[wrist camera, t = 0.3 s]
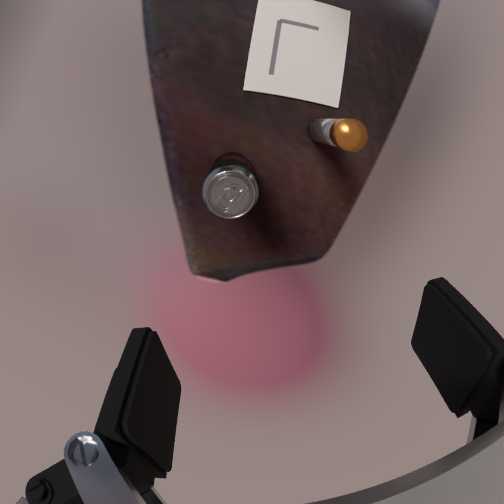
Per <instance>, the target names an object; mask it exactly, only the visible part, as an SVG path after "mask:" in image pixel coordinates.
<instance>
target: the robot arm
mask: <svg viewBox="0 0 504 504" xmlns="http://www.w3.org/2000/svg"><path fill="white" fill-rule="evenodd" d="M411 345H412V348H413V350H414V351H415V353H416V355H417V356H418V358H419V359H420V361H421V362H422V364H423V366H424V367H425V369H426V370H427V372H428V374H429V375H430V377H431V379H432V380H433V382H434V384H435V385H436V387H437V389H438V390H439V392H440V394H441V395H442V397H443V399H444V401H445V402H446V404H447V406H448V408H449V409H450V411H451V412H453V413H455V414H456V416H457V418H459V417H461V416H463V415H464V414H466V413H468V412H469V411H471V413H472V419H471V425H470V430H469V435H468V440H467V443H466V445H465V446H463V447H461V448H459V449H458V450H456V451H454V452H452V453H450V454H448V455H447V456H445V457H443V458H441V459H439V460H437V461H435V462H433V463H431V464H428V465H426V466H424V467H422V468H420V469H418V470H415V471H413V472H411V473H408V474H406V475H403V476H401V477H398V478H396V479H393V480H391V481H388V482H385V483H383V484H379V485H377V486H373V487H370V488H367V489H364V490H361V491H357V492H354V493H350V494H347V495H343V496H339V497H335V498H331V499H327V500H322V501H318V502H312V503H307V504H504V339H503V338H502V337H501V335H500V334H499V333H498V332H497V331H496V330H495V329H494V328H493V326H491V324H490V323H489V322H488V321H487V320H486V319H485V318H484V317H483V316H482V315H481V314H480V313H479V312H478V311H477V309H475V307H473V305H472V304H470V302H469V301H468V300H466V298H465V297H464V296H463V295H461V294H460V293H459V292H458V291H457V290H456V289H455V288H454V287H453V286H452V285H451V284H450V283H449V282H448V281H447V280H446V279H444V278H443V277H440V278H436V279H433V280H430V281H428V283H427V285H426V286H425V287H424V291H423V296H422V300H421V305H420V309H419V313H418V317H417V321H416V325H415V329H414V332H413V336H412V340H411ZM180 395H181V384H180V381H179V379H178V377H177V375H176V373H175V371H174V369H173V366H172V364H171V362H170V360H169V358H168V356H167V354H166V352H165V350H164V347H163V345H162V343H161V340H160V338H159V336H158V334H157V332H156V331H152V330H151V329H150V328H149V327H145V328H134V329H132V331H131V334H130V336H129V338H128V341H127V343H126V346H125V349H124V351H123V354H122V356H121V359H120V362H119V364H118V367H117V368H116V370H115V371H114V374H113V377H112V379H111V382H110V385H109V387H108V390H107V393H106V396H105V399H104V402H103V405H102V408H101V411H100V414H99V417H98V420H97V423H96V426H95V429H94V433H91V432H80V433H77V434H75V435H74V436H72V437H71V438H70V439H69V440H68V442H67V443H66V446H65V448H64V457H65V459H63V460H61V461H60V462H58V463H56V464H54V465H53V466H51V467H49V468H48V469H46V470H44V471H42V472H41V473H39V474H37V475H35V476H33V477H32V478H31V479H30V480H29V482H28V483H27V485H26V498H24V497H21V498H20V499H19V501H18V502H17V503H16V504H167V503H166V502H165V501H164V500H163V498H162V497H161V496H160V495H159V493H158V492H157V491H156V489H155V488H154V487H153V485H154V479H155V478H166V474H167V472H169V471H171V468H172V460H173V450H174V442H175V434H176V425H177V417H178V410H179V402H180Z"/></svg>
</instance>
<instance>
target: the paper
mask: <svg viewBox="0 0 504 504" xmlns="http://www.w3.org/2000/svg"><path fill="white" fill-rule="evenodd" d="M350 13H351V11H348V10H344V9H341V8H338V7H335V6H331V5H328V4H324V3H321V2H317V1H313V0H259V1H258V6H257V11H256V17H255V22H254V28H253V34H252V39H251V45H250V51H249V57H248V63H247V70H246V76H245V82H244V89H243V90H247V91H255V92H262V93H268V94H274V95H280V96H286V97H291V98H296V99H301V100H306V101H310V102H315V103H319V104H323V105H328V106H332V107H336V108H338V106H339V100H340V93H341V87H342V80H343V73H344V65H345V58H346V50H347V42H348V33H349V23H350Z"/></svg>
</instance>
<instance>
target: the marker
mask: <svg viewBox="0 0 504 504" xmlns="http://www.w3.org/2000/svg"><path fill="white" fill-rule="evenodd" d="M307 132H308V135H309V137H310V138H311V139H312V140H314V141H317V142H321V143H324V144H328V145H331V146H335V147H338V148H340V149H343V150H346V151H349V152H356V151H359V150H360V149H362V148H363V147H364V145H365V144H366V141H367V131H366V128H365V127H364V125H363V124H362V123H361V122H360V121H358V120H355V119H314V120H312V121H311V122H310V123H309V124H308V127H307Z"/></svg>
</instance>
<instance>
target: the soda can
mask: <svg viewBox="0 0 504 504" xmlns="http://www.w3.org/2000/svg"><path fill="white" fill-rule="evenodd" d="M202 197H203V200H204V203H205V205H206V206H207V208H208V209H209V210H210V211H211V212H212V213H213V214H215V215H216V216H218V217H221V218H225V219H236V218H240V217H242V216H244V215H246V214H248V213H249V212H250V211H251V210H252V209H253V208H254V206H255V205H256V203H257V200H258V197H259V186H258V183H257V180H256V177H255V174H254V172H253V169H252V166H251V164H250V162H249V160H248V159H247V158H246V157H245V156H243V155H241V154H239V153H235V152H229V153H225V154H222V155H221V156H219V157H218V158H217V159H216V160H215V161H214V163H213V165H212V167H211V169H210V171H209V173H208V175H207V177H206V178H205V180H204V183H203V187H202Z"/></svg>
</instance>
